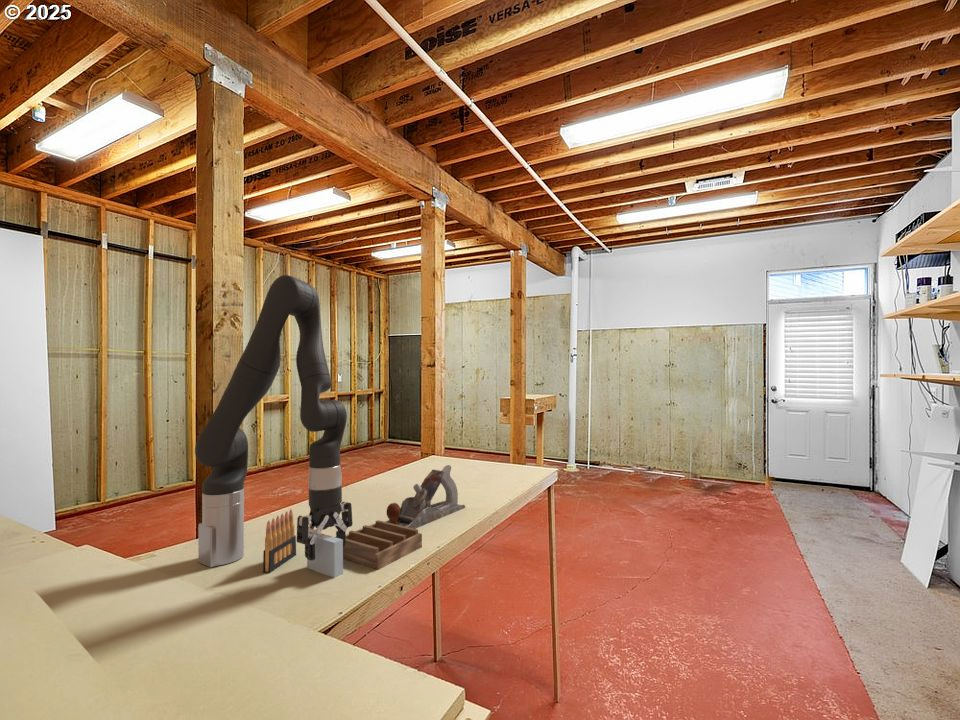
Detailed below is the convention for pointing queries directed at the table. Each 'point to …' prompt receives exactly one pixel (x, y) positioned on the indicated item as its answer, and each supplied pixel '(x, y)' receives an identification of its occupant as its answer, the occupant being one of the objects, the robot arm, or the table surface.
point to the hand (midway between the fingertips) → (326, 553)
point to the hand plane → (426, 501)
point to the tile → (327, 556)
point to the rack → (380, 544)
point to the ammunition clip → (279, 542)
